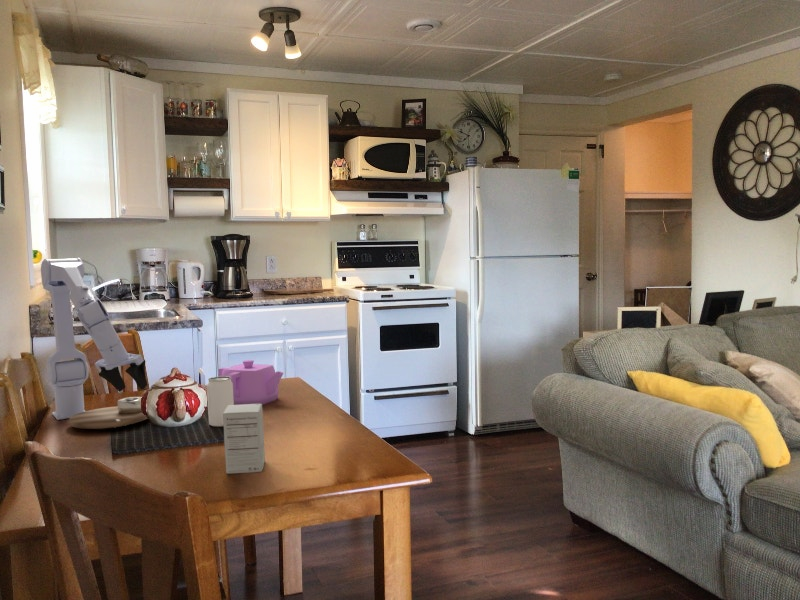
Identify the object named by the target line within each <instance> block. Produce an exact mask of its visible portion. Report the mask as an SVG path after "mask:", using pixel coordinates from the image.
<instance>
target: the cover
mask: <svg viewBox="0 0 800 600" xmlns="http://www.w3.org/2000/svg"><path fill="white" fill-rule="evenodd" d="M142 397H143V396H129V397H123V398H120V399H118V400H117V406H118V413H119V414H137V413H141V412H142V411H141V398H142Z"/></svg>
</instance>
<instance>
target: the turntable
mask: <svg viewBox="0 0 800 600" xmlns="http://www.w3.org/2000/svg"><path fill="white" fill-rule="evenodd" d="M146 420H148V418H147V417H146V415H144V414H143V413H142V412H141V413H137V414H119V413H118V405H117V406H108V407H102V408H101V407H100V408H94V409H89V410H85V412H81V413H78V414H76V415H73V416H72V417H70V418H68V421H69V423H68V424H69V426H71V427H73V428H76V429H84V430H85V429H88V430H93V429H98V428H110V427H118V426H124V425H129V424H131V425H133V424H136V423H139V422H143V421H146ZM129 426H130V425H129Z"/></svg>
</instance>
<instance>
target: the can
mask: <svg viewBox="0 0 800 600" xmlns="http://www.w3.org/2000/svg"><path fill="white" fill-rule="evenodd" d="M230 378H231V377H227V376H221V377H218V376H214V377H210V378H208V382H207V383H206V392H207V396H206V397H207V412H208V413H207V414H208V425H210V426H211V427H214V428H221V427H222V428H224V423H223V413H224V411H225V410H226V408H227V406H228V405H234V400H233V384H232V381H231V379H230Z"/></svg>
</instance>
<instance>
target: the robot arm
mask: <svg viewBox="0 0 800 600" xmlns="http://www.w3.org/2000/svg"><path fill="white" fill-rule="evenodd" d="M40 275H41V276H40V277H41V285H42V287H43V288H42V289H43V290H46V291H47V292H49V295H50V298H51V307H52V318H53V319H52V320H53V325H54V326H53V328H54V336H55V345H56V346H55V347H56V350H55V351H54V352H52V353H51V354H50V355H49V356H48V357H47V359H46V379H47V381H48V383H49V384H50V385H51V386H53V387H54V389H53V390H54V401H55V402H54V403H55V411H53V412H52V415H53V417H55V419H56V420H57V421H59V420H65V419H70V417H72V416H73V415H76V414H78V413H81V412H85V411H86V410H85V399H84V385H83V384H85V381H87V379H89V376H90V375H89V374H90V370H89V369H90V368H89V364H88V361H87V356H86V354H85V353H84V352H82V351H80V350H79V349H77V348H76V342H75V334H74V333H75V331H74V323H73V322H74V321H73V314H72V313H73V312H72V305H73V306H74V308H75V310H76V311H75V313H76V316H77V317H78V319H79V321H80V323H81V325H82V326H83V328H84V329H85V330H86V331H87V333H88V335H89V336H90V337H91V338H92V341H93V343H94V344H95V346H96V348H97V350H98V352H99V353H100V355H101V357H102V358H101V359H98V360H97V361H96V362H94V365H95V367H96V369H97V370H99V372H98V376H99V377H100V378H103V379H104V380H106V381H107V382H109V383H110V384H111V385H112V386H113V387H114V389H116V390H117V391H118V392H119V393H121V392H122V391H123V390H124V389H125V388H126V384H125V382H124V380H123V377H122V375H121V373H120V369H119V368H120V367H122V366H128V367H127V368H126V369H125V373H126V374H128V375H129V376H130V377H131V378H132V379H133V380H134V382H135V383H136V385H137V386H138V388H139V389H140V390H144V389H145V388H146V387H147V386H148V382H147V378H146V377H147V376H146V360H145V359H144V358H143V356H142V354H134V353H131V352H129V353H128V351H127V349H126V348H125V346H124V344H123V342H122V341H121V339H120V337H119V335H118V333H117V331H116V330H115V327H114V326H113V324H112V322H111V320H110V318H111V317H110V314H109V312H108V311H107V309H106V307H105V305H104V303H103V302H102V301H101V299H100V298H98V296H97V295H96V293H95V292H94V290H93V289H92V287H90V286H89V285H87V284H85V281H84V280H83V278H84V277H85V265H84V262H83V260H82V259H81V258H80V257H75V258H74V257H73V258H44V259H43V260H42V261H41V264H40ZM70 359H72V360H70ZM61 360H62V361H61ZM63 360H64V361H63Z"/></svg>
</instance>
